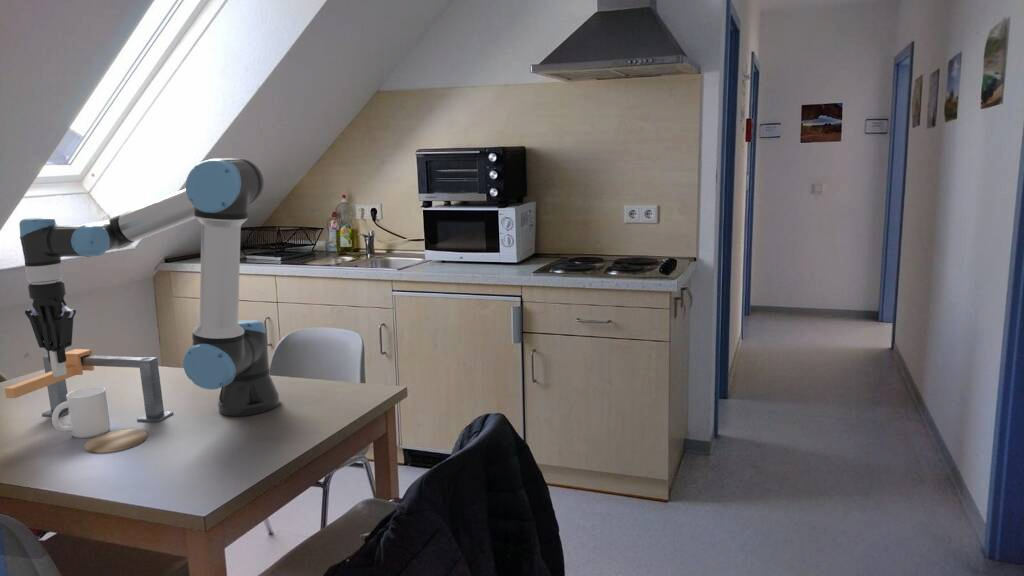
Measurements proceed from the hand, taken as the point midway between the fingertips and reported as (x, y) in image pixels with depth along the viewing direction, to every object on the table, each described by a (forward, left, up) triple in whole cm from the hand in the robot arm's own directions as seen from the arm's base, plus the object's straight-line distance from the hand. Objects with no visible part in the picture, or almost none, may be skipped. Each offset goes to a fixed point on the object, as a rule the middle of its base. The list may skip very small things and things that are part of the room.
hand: (59, 375), depth 188 cm
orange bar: (+2, +1, -2) cm, 3 cm away
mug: (-9, +5, -13) cm, 17 cm away
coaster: (-21, +8, -13) cm, 26 cm away
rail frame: (-5, -8, -13) cm, 16 cm away
